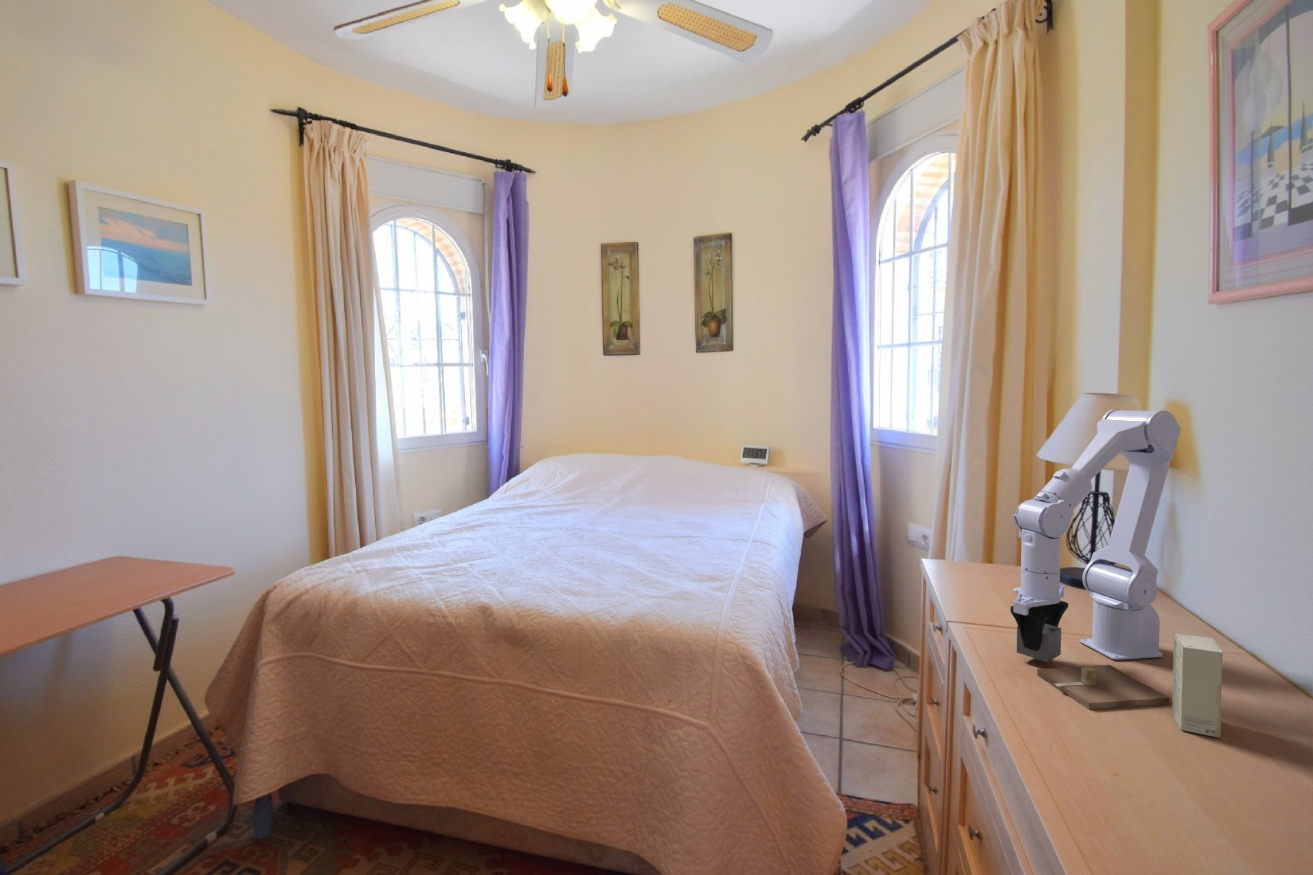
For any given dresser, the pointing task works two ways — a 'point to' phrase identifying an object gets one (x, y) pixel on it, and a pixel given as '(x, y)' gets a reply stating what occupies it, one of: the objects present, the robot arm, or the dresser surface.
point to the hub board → (1102, 687)
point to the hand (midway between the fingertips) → (1038, 644)
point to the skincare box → (1197, 684)
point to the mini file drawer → (1043, 644)
